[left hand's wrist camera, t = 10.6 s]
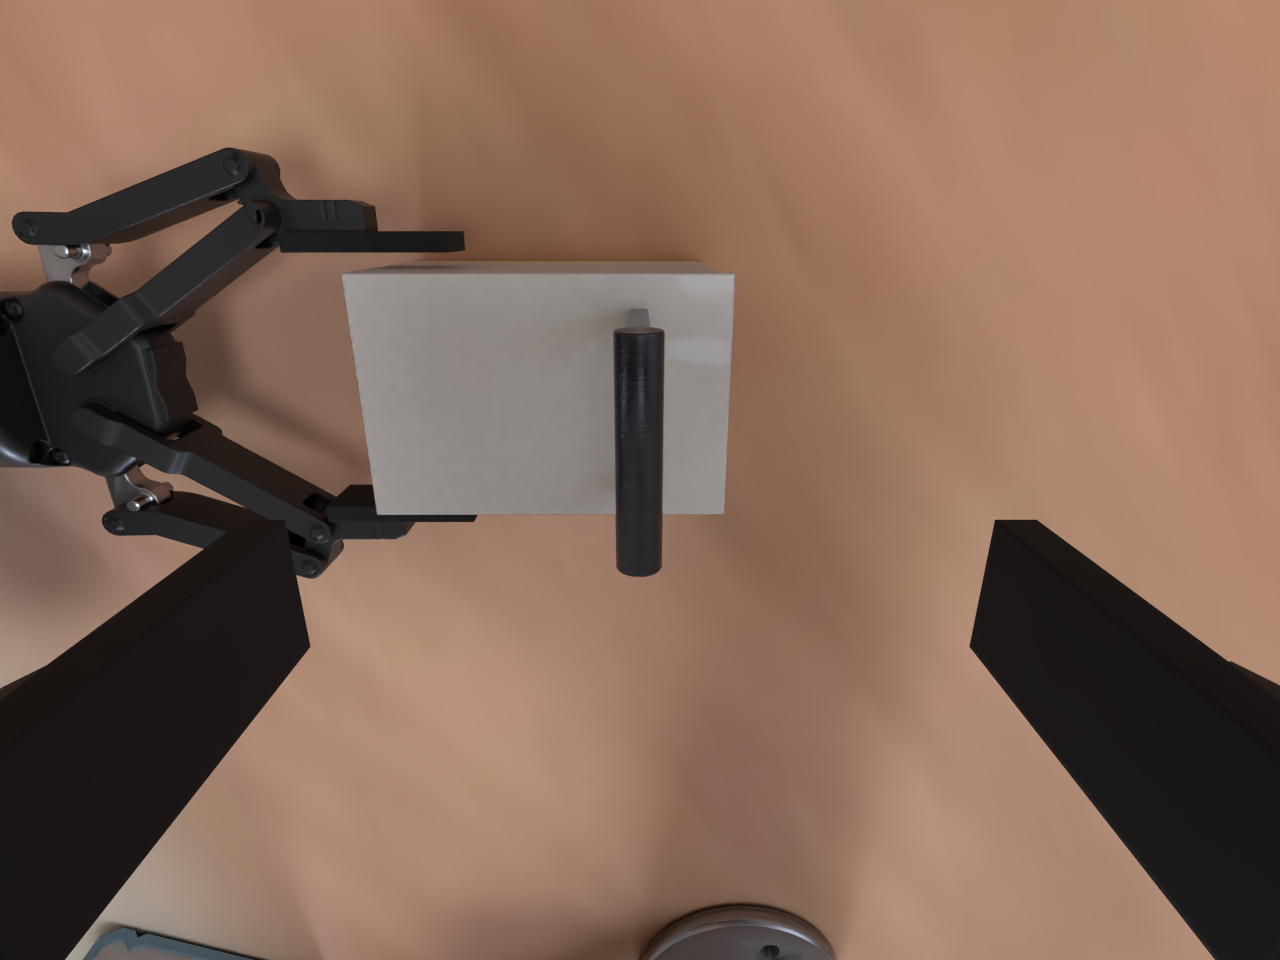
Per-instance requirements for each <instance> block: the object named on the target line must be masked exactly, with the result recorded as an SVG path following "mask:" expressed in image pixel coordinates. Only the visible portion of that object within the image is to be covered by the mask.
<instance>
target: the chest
mask: <svg viewBox="0 0 1280 960" xmlns="http://www.w3.org/2000/svg"><path fill="white" fill-rule="evenodd" d="M354 272H716V271H714V270H713V269H711V268H709V267H708V266H706V265H704V264H702V263H701V262H700V261H699V260H421V261H417V262H411V263H405V264H398V265H392V266H386V267H379V268H373V269H367V270H360V271H354Z"/></svg>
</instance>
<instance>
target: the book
mask: <svg viewBox="0 0 1280 960" xmlns="http://www.w3.org/2000/svg"><path fill="white" fill-rule="evenodd" d="M83 960H253V959H249V958H245V957H241V956H237V955H232V954H228V953H224V952H220V951H216V950H212V949H208V948H204V947H200V946H196V945H192V944H188V943H184V942H179V941H175V940H171V939H167V938H163V937H159V936H155V935H151V934H145V935H143V936H140V937H137V934H136V932H135V930H131V929H126V928H121V929H118V930H115V931H113V932H110V933H108V934H105V935H102V936H100V938H99V939H98V940H97V942H96V943H95V944H94V945H93V947H92V948H91V949H90V951H89V952H88V953H87V955H86V956H85V957H84V959H83Z"/></svg>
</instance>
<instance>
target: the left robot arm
mask: <svg viewBox="0 0 1280 960" xmlns="http://www.w3.org/2000/svg"><path fill="white" fill-rule="evenodd" d="M309 648H310V642H309V637H308V632H307V627H306V622H305V617H304V612H303V607H302V602H301V597H300V592H299V587H298V582H297V578H296V573H295V568H294V563H293V558H292V553H291V548H290V543H289V538H288V533H287V528H286V523H285V520H243V521H241V522H240V523H239V524H237V525H236V526H234V527H233V528H232V529H230V530H229V531H228V532H226V533H225V534H224V535H222V536H221V537H220V538H218V539H217V540H216V541H214V542H213V543H211V544H210V545H209V546H207V547H206V548H205V549H203V550H202V551H201V552H199V553H198V554H197V555H195V556H194V557H193V558H191V559H190V560H188V561H187V562H186V563H184V564H183V565H182V566H180V567H179V568H178V569H176V570H175V571H174V572H172V573H171V574H170V575H168V576H167V577H166V578H164V579H163V580H161V581H160V582H159V583H157V584H156V585H155V586H153V587H152V588H151V589H149V590H148V591H147V592H145V593H144V594H143V595H141V596H140V597H138V598H137V599H136V600H134V601H133V602H132V603H130V604H129V605H128V606H126V607H125V608H124V609H122V610H121V611H120V612H118V613H117V614H115V615H114V616H113V617H111V618H110V619H109V620H107V621H106V622H105V623H103V624H102V625H101V626H99V627H98V628H97V629H95V630H94V631H93V632H91V633H90V634H88V635H87V636H86V637H84V638H83V639H82V640H80V641H79V642H78V643H76V644H75V645H74V646H72V647H71V648H70V649H68V650H67V651H65V652H64V653H63V654H61V655H60V656H59V657H57V658H56V659H55V660H53V661H52V662H51V663H49V664H48V665H46V666H44V667H42V668H40V669H38V670H36V671H34V672H32V673H30V674H28V675H26V676H24V677H22V678H20V679H18V680H16V681H14V682H12V683H10V684H8V685H6V686H4V687H2V688H1V689H0V960H65V959H66V958H67V956H68V955H69V954H70V952H71V951H72V950H73V949H74V947H75V946H76V945H77V944H78V942H79V941H80V940H81V938H82V937H83V936H84V935H85V933H86V932H87V931H88V930H89V928H90V927H91V926H92V924H93V923H94V922H95V921H96V919H97V918H98V917H99V915H100V914H101V913H102V912H103V910H104V909H105V908H106V907H107V905H108V904H109V903H110V901H111V900H112V899H113V898H114V896H115V895H116V894H117V893H118V891H119V890H120V889H121V887H122V886H123V885H124V884H125V882H126V881H127V880H128V879H129V877H130V876H131V875H132V873H133V872H134V871H135V870H136V868H137V867H138V866H139V865H140V863H141V862H142V861H143V859H144V858H145V857H146V856H147V854H148V853H149V852H150V850H151V849H152V848H153V847H154V845H155V844H156V843H157V842H158V840H159V839H160V838H161V836H162V835H163V834H164V833H165V831H166V830H167V829H168V828H169V826H170V825H171V824H172V822H173V821H174V820H175V819H176V817H177V816H178V815H179V814H180V812H181V811H182V810H183V808H184V807H185V806H186V805H187V803H188V802H189V801H190V800H191V798H192V797H193V796H194V794H195V793H196V792H197V791H198V789H199V788H200V787H201V785H202V784H203V783H204V782H205V780H206V779H207V778H208V777H209V775H210V774H211V773H212V771H213V770H214V769H215V768H216V766H217V765H218V764H219V763H220V761H221V760H222V759H223V757H224V756H225V755H226V754H227V752H228V751H229V750H230V749H231V747H232V746H233V745H234V743H235V742H236V741H237V740H238V738H239V737H240V736H241V734H242V733H243V732H244V731H245V729H246V728H247V727H248V726H249V724H250V723H251V722H252V720H253V719H254V718H255V717H256V715H257V714H258V713H259V712H260V710H261V709H262V708H263V706H264V705H265V704H266V703H267V701H268V700H269V699H270V698H271V696H272V695H273V694H274V692H275V691H276V690H277V689H278V687H279V686H280V685H281V684H282V682H283V681H284V680H285V678H286V677H287V676H288V675H289V673H290V672H291V671H292V669H293V668H294V667H295V666H296V664H297V663H298V662H299V661H300V659H301V658H302V657H303V655H304V654H305V653H306V652H307V650H308V649H309ZM970 648H971V649H972V650H973V652H974V653H975V654H976V655H977V657H978V658H979V659H980V661H981V662H982V663H983V664H984V666H985V667H986V668H987V669H988V671H989V672H990V673H991V675H992V676H993V677H994V678H995V680H996V681H997V682H998V684H999V685H1000V686H1001V687H1002V689H1003V690H1004V691H1005V692H1006V694H1007V695H1008V696H1009V698H1010V699H1011V700H1012V701H1013V703H1014V704H1015V705H1016V706H1017V708H1018V709H1019V710H1020V712H1021V713H1022V714H1023V715H1024V717H1025V718H1026V719H1027V720H1028V722H1029V723H1030V724H1031V726H1032V727H1033V728H1034V729H1035V731H1036V732H1037V733H1038V735H1039V736H1040V737H1041V738H1042V740H1043V741H1044V742H1045V743H1046V745H1047V746H1048V747H1049V749H1050V750H1051V751H1052V752H1053V754H1054V755H1055V756H1056V757H1057V759H1058V760H1059V761H1060V763H1061V764H1062V765H1063V766H1064V768H1065V769H1066V770H1067V771H1068V773H1069V774H1070V775H1071V777H1072V778H1073V779H1074V780H1075V782H1076V783H1077V784H1078V785H1079V787H1080V788H1081V789H1082V791H1083V792H1084V793H1085V794H1086V796H1087V797H1088V798H1089V800H1090V801H1091V802H1092V803H1093V805H1094V806H1095V807H1096V808H1097V810H1098V811H1099V812H1100V814H1101V815H1102V816H1103V817H1104V819H1105V820H1106V821H1107V822H1108V824H1109V825H1110V826H1111V828H1112V829H1113V830H1114V831H1115V833H1116V834H1117V835H1118V836H1119V838H1120V839H1121V840H1122V842H1123V843H1124V844H1125V845H1126V847H1127V848H1128V849H1129V850H1130V852H1131V853H1132V854H1133V856H1134V857H1135V858H1136V859H1137V861H1138V862H1139V863H1140V865H1141V866H1142V867H1143V868H1144V870H1145V871H1146V872H1147V873H1148V875H1149V876H1150V877H1151V879H1152V880H1153V881H1154V882H1155V884H1156V885H1157V886H1158V887H1159V889H1160V890H1161V891H1162V893H1163V894H1164V895H1165V896H1166V898H1167V899H1168V900H1169V901H1170V903H1171V904H1172V905H1173V907H1174V908H1175V909H1176V910H1177V912H1178V913H1179V914H1180V915H1181V917H1182V918H1183V919H1184V921H1185V922H1186V923H1187V924H1188V926H1189V927H1190V928H1191V930H1192V931H1193V932H1194V933H1195V935H1196V936H1197V937H1198V938H1199V940H1200V941H1201V942H1202V944H1203V945H1204V946H1205V947H1206V949H1207V950H1208V951H1209V952H1210V954H1211V955H1212V956H1213V958H1214V959H1215V960H1280V686H1279V685H1278V684H1276V683H1274V682H1272V681H1270V680H1268V679H1266V678H1264V677H1262V676H1260V675H1258V674H1256V673H1254V672H1252V671H1250V670H1248V669H1246V668H1244V667H1242V666H1240V665H1238V664H1236V663H1233V662H1228V661H1227V660H1225V659H1224V658H1223V657H1221V656H1220V655H1219V654H1217V653H1216V652H1215V651H1213V650H1212V649H1210V648H1209V647H1208V646H1206V645H1205V644H1204V643H1202V642H1201V641H1200V640H1198V639H1197V638H1196V637H1194V636H1193V635H1192V634H1190V633H1189V632H1187V631H1186V630H1185V629H1183V628H1182V627H1181V626H1179V625H1178V624H1177V623H1175V622H1174V621H1173V620H1171V619H1170V618H1169V617H1167V616H1166V615H1165V614H1163V613H1162V612H1160V611H1159V610H1158V609H1156V608H1155V607H1154V606H1152V605H1151V604H1150V603H1148V602H1147V601H1146V600H1144V599H1143V598H1142V597H1140V596H1139V595H1137V594H1136V593H1135V592H1133V591H1132V590H1131V589H1129V588H1128V587H1127V586H1125V585H1124V584H1123V583H1121V582H1120V581H1119V580H1117V579H1116V578H1114V577H1113V576H1112V575H1110V574H1109V573H1108V572H1106V571H1105V570H1104V569H1102V568H1101V567H1100V566H1098V565H1097V564H1096V563H1094V562H1093V561H1092V560H1090V559H1089V558H1087V557H1086V556H1085V555H1083V554H1082V553H1081V552H1079V551H1078V550H1077V549H1075V548H1074V547H1073V546H1071V545H1070V544H1069V543H1067V542H1066V541H1064V540H1063V539H1062V538H1060V537H1059V536H1058V535H1056V534H1055V533H1054V532H1052V531H1051V530H1050V529H1048V528H1047V527H1046V526H1044V525H1043V524H1041V523H1040V522H1039V521H1037V520H995V523H994V528H993V533H992V538H991V543H990V548H989V553H988V558H987V563H986V568H985V573H984V578H983V582H982V587H981V592H980V597H979V602H978V607H977V612H976V617H975V622H974V627H973V632H972V637H971V642H970ZM640 960H836V959H835V956H834V953H833V951H832V948H831V947H830V945H829V943H828V942H827V941H826V939H825V938H824V937H823V936H822V935H821V934H820V933H819V932H818V931H817V930H816V929H815V928H813V927H812V926H811V925H809V924H808V923H806V922H805V921H803V920H801V919H799V918H797V917H795V916H792V915H790V914H788V913H785V912H781V911H778V910H774V909H769V908H763V907H755V906H728V907H720V908H714V909H710V910H705V911H702V912H698V913H695V914H693V915H690V916H687V917H685V918H683V919H681V920H679V921H677V922H675V923H674V924H672V925H670V926H669V927H667V928H666V929H664V930H663V931H662V932H661V933H660V934H658V935H657V936H656V937H655V938H654V939H653V940H652V941H651V943H650V944H649V945H648V946H647V948H646V950H645V951H644V953H643V955H642V957H641V959H640Z"/></svg>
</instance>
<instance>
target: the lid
mask: <svg viewBox="0 0 1280 960" xmlns="http://www.w3.org/2000/svg"><path fill="white" fill-rule="evenodd" d="M342 282H343V288H344V295H345V302H346V309H347V315H348V322H349V329H350V335H351V342H352V349H353V356H354V362H355V369H356V376H357V383H358V389H359V396H360V403H361V409H362V416H363V423H364V430H365V436H366V443H367V450H368V456H369V463H370V470H371V477H372V483H373V490H374V497H375V504H376V510H377V514H378V515H616V566H617V569H618V570H619V571H620V572H621V573H623V574H625V575H628V576H633V577H645V576H650V575H653V574H655V573H657V572H658V571H659V570H660V569H661V567H662V515H719V514H724V501H725V480H726V459H727V438H728V417H729V396H730V375H731V354H732V333H733V312H734V291H735V274H734V273H732V272H348V273H343V274H342Z"/></svg>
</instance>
